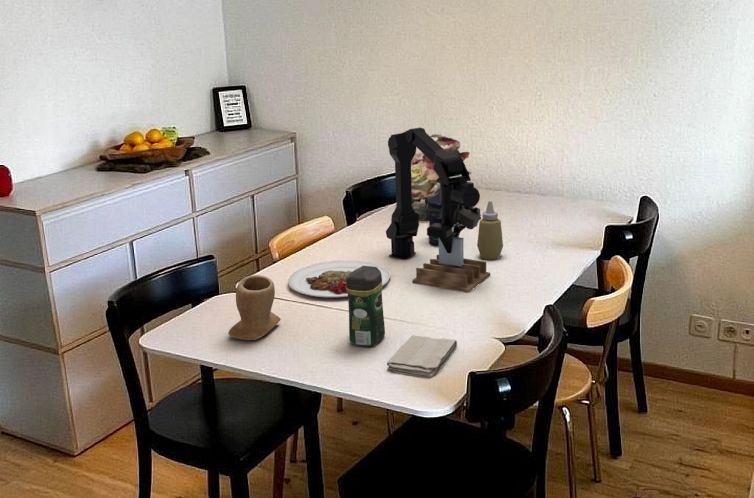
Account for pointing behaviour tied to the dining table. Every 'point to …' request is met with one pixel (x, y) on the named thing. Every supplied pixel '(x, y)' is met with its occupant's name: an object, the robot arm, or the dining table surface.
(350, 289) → the coffee jar
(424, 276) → the dish rack
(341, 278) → the plated food
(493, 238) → the squeeze bottle
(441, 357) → the washcloth
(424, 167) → the rose bouquet
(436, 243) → the storage jar
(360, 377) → the dining table surface
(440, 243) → the plate tile
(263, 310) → the stone cup
